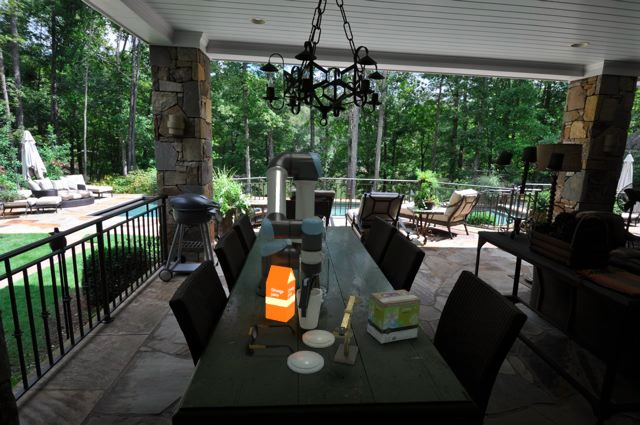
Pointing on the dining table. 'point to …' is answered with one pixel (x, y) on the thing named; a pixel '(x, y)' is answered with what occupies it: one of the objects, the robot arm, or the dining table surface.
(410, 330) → the tea box
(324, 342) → the dish high
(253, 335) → the sunglasses
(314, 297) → the foam cup
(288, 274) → the orange juice
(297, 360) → the dish low
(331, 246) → the dining table surface
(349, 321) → the balance
